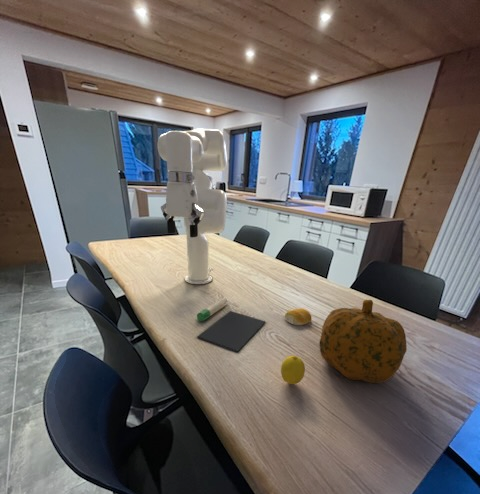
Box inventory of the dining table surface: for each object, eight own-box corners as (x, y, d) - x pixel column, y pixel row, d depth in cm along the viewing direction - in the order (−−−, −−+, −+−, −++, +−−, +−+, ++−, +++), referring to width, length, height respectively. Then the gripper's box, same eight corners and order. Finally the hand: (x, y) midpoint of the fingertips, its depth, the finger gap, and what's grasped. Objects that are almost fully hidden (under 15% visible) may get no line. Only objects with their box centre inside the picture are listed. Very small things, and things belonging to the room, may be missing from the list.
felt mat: (230, 312, 96) (230, 310, 96) (265, 322, 91) (265, 321, 91) (197, 337, 80) (197, 336, 80) (237, 352, 75) (237, 350, 75)
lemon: (277, 375, 67) (280, 349, 63) (298, 375, 67) (303, 349, 64) (282, 391, 62) (286, 364, 58) (304, 391, 62) (310, 364, 59)
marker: (220, 304, 102) (220, 296, 101) (227, 306, 101) (228, 298, 100) (196, 320, 90) (196, 311, 89) (204, 322, 89) (204, 314, 87)
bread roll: (315, 321, 93) (317, 311, 91) (296, 328, 88) (298, 317, 87) (298, 312, 99) (300, 302, 97) (280, 317, 95) (281, 307, 93)
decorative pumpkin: (357, 405, 58) (379, 322, 51) (300, 356, 76) (311, 290, 69) (417, 385, 66) (443, 311, 59) (352, 346, 84) (366, 285, 77)
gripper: (210, 180, 81) (210, 237, 88) (168, 178, 88) (171, 230, 96) (194, 179, 75) (195, 240, 82) (151, 177, 82) (155, 233, 90)
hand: (182, 234), depth 89 cm, fingers open, 9 cm apart
